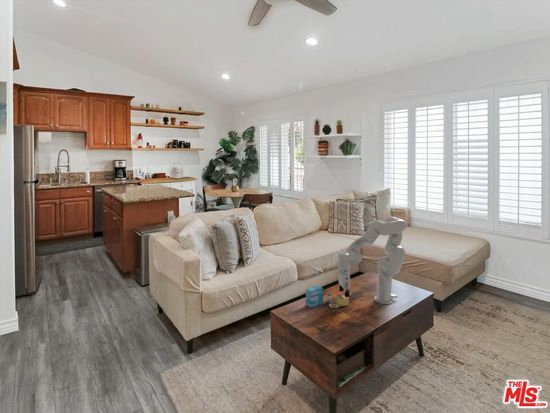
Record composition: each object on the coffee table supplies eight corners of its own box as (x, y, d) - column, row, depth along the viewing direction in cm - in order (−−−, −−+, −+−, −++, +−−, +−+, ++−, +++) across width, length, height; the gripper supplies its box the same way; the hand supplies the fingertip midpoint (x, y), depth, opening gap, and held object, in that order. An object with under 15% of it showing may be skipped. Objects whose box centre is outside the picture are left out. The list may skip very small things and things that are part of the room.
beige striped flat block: (336, 304, 231) (336, 303, 231) (338, 307, 227) (338, 306, 227) (329, 305, 230) (329, 304, 230) (331, 308, 226) (331, 306, 226)
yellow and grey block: (345, 302, 235) (346, 294, 234) (348, 305, 230) (348, 297, 229) (336, 303, 233) (336, 295, 232) (338, 306, 229) (339, 298, 228)
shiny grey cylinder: (330, 301, 236) (330, 293, 235) (331, 303, 234) (332, 294, 233) (327, 301, 236) (327, 293, 235) (328, 303, 233) (328, 295, 232)
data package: (309, 308, 226) (310, 291, 224) (305, 305, 230) (305, 289, 227) (323, 303, 232) (323, 287, 230) (318, 301, 236) (319, 285, 234)
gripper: (354, 274, 220) (354, 298, 223) (344, 265, 237) (344, 288, 240) (343, 275, 219) (344, 300, 222) (333, 266, 235) (334, 289, 238)
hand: (344, 294), depth 231 cm, fingers open, 9 cm apart
